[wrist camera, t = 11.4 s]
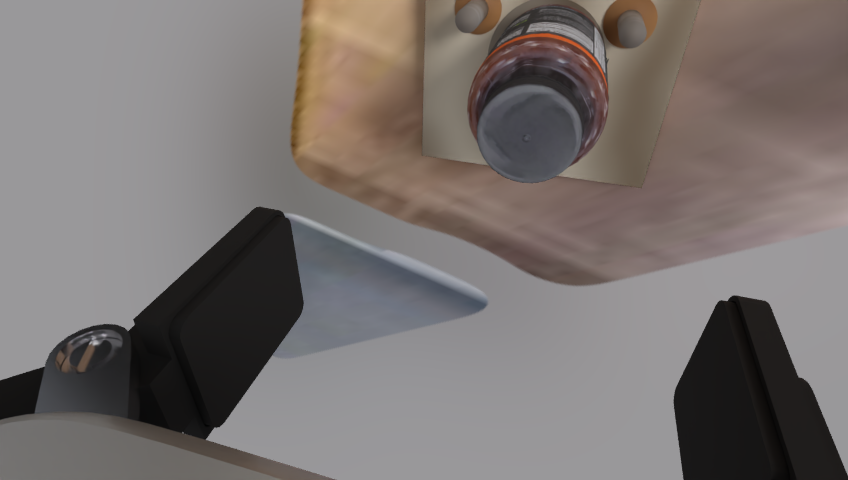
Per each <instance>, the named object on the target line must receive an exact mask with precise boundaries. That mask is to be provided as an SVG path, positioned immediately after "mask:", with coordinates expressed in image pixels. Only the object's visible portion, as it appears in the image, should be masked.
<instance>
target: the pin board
mask: <svg viewBox="0 0 848 480" xmlns="http://www.w3.org/2000/svg"><path fill="white" fill-rule="evenodd" d="M700 2H701V0H426V1H425V44H424V88H423V131H422V156H429V157H435V158H442V159H449V160H456V161H462V162H469V163H476V164H482V165H488V164H487V162H486V161H485V159H484V158H483V156H482V154H481V152H480V150H479V147H478V144H477V142H476V140H475V138H474V136H473V134H472V132H471V129H470V126H469V121H468V114H467V104H468V96H469V91H470V88H471V85H472V82H473V79H474V77H475V75H476V73H477V71H478V70H479V68H480V67H481V65H482V63H483V62H484V60H485V59H486V57H487V56H488V54H489V53H490V51H491V50H492V48H493V47H494V45H495V44H496V42H497V41H498V39H499V38H500V36H501V35H502V33H503V32H504V30H505V29H506V28H507V27H508V26H509V25H510V24H511V23H512V22H513V21H514V20H515V19H516V18H517V17H518V16H520V15H521V14H523V13H524V12H526V11H528V10H530V9H532V8H535V7H538V6H541V5H549V4H559V5H566V6H570V7H572V8H575V9H577V10H579V11H581V12H583V13H584V14H585V15H587V16H588V17H589V18H590V19H591V20H592V21H593V22H594V24H595V25H596V27H597V28H598V30H599V32H600V34H601V36H602V40H603V42H604V46H605V50H606V58H607V60H608V59H609V61H608V63H607V74H608V95H609V102H608V116H607V120H606V124H605V127H604V130H603V132H602V134H601V136H600V138H599V139H598V141H597V142H596V144H595V145H594V146H593V148H592V149H591V150H590V151H589V152H588V154H587V155H586V156H584V157H583V158H582V159H580V160H579V161H578V162H577V163H575V164H573V165H572V166H570V167H568V168H567V169H566V170H564V171H563V172H562V173H560V174H559V175H557V176H563V177H570V178H576V179H583V180H590V181H596V182H603V183H610V184H617V185H623V186H630V187H637V188H642V185H643V182H644V179H645V176H646V173H647V169H648V166H649V163H650V160H651V157H652V154H653V150H654V147H655V144H656V141H657V138H658V135H659V131H660V128H661V125H662V122H663V119H664V116H665V112H666V109H667V106H668V103H669V100H670V97H671V93H672V90H673V87H674V84H675V81H676V78H677V74H678V71H679V68H680V65H681V62H682V59H683V55H684V52H685V49H686V46H687V43H688V40H689V37H690V33H691V30H692V27H693V24H694V21H695V18H696V14H697V11H698V8H699V5H700Z"/></svg>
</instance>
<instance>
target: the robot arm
mask: <svg viewBox="0 0 848 480" xmlns="http://www.w3.org/2000/svg"><path fill="white" fill-rule="evenodd" d="M303 304H304V303H303V296H302V290H301V283H300V277H299V271H298V265H297V259H296V253H295V247H294V241H293V235H292V229H291V223H290V221H289V219H288V218H285V216H284V214H283V212H281V211H279V210H274V209H268V208H263V207H256V208H255V209H253V210H252V211H251V212H250V213H249V214H248V215H247V216H246V217H245V218H243V219H242V220H241V221H240V222H239V223H238V224H237V225H236V226H235V227H234V228H232V229H231V230H230V231H229V232H228V233H227V234H226V235H225V236H224V237H223V238H222V239H221V240H219V241H218V242H217V243H216V244H215V245H214V246H213V247H212V248H211V249H210V250H208V251H207V252H206V253H205V254H204V255H203V256H202V257H201V258H200V259H199V260H198V261H197V262H195V263H194V264H193V265H192V266H191V267H190V268H189V269H188V270H187V271H186V272H184V273H183V274H182V275H181V276H180V277H179V278H178V279H177V280H176V281H175V282H174V283H172V284H171V285H170V286H169V287H168V288H167V289H166V290H165V291H164V292H163V293H162V294H160V295H159V296H158V297H157V298H156V299H155V300H154V301H153V302H152V303H151V304H150V305H149V306H147V307H146V308H145V309H144V310H143V311H142V312H141V313H140V314H139V315H138V316H137V317H135V318H134V319H133V320H134V323H135V325H134V326H133V327H132V328H131V329H130V330H129V331H127V330H126V329H125V328H124V327H121V326H118V325H113V324H103V325H96V326H91V327H88V328H85V329H82V330H80V331H78V332H76V333H74V334H72V335H70V336H68V337H67V338H66V339H64V340H63V341H61V342H60V343H59V344H58V345H57V346H56V347H55V348H54V349H53V350H52V352H51V353H50V354H49V356H48V359H47V361H46V364H45V367H42V368H39V369H36V370H32V371H29V372H26V373H23V374H19V375H16V376H13V377H10V378H7V379H3V380H0V480H335V479H331V478H328V477H325V476H322V475H319V474H316V473H312V472H309V471H306V470H302V469H299V468H296V467H293V466H289V465H286V464H283V463H280V462H276V461H273V460H269V459H266V458H263V457H260V456H257V455H253V454H250V453H247V452H243V451H240V450H237V449H234V448H230V447H227V446H224V445H220V444H217V443H214V442H210V441H207V440H206V438H207V437H208V436H209V434H210V433H211V431H212V430H213V429H214V427H216V428H217V427H220V426H221V425H222V424H223V423H224V422H225V421H226V419H227V418H228V417H229V415H230V414H231V412H232V411H233V410H234V408H235V407H236V405H237V404H238V403H239V401H240V400H241V398H242V397H243V395H244V394H245V393H246V391H247V390H248V388H249V387H250V386H251V384H252V383H253V381H254V380H255V379H256V377H257V376H258V374H259V373H260V372H261V370H262V369H263V367H264V366H265V365H266V363H267V362H268V360H269V359H270V357H271V356H272V355H273V353H274V352H275V351H276V349H277V348H278V346H279V345H280V343H281V342H282V341H283V339H284V338H285V336H286V335H287V334H288V332H289V331H290V329H291V328H292V327H293V325H294V324H295V322H296V321H297V320H298V318H299V317H300V315H301V313H302V310H303ZM674 409H675V418H676V425H677V432H678V440H679V447H680V456H681V463H682V471H683V479H684V480H848V475H847V473H846V471H845V468H844V466H843V463H842V461H841V458H840V456H839V454H838V451H837V449H836V446H835V444H834V441H833V439H832V436H831V434H830V432H829V429H828V427H827V424H826V422H825V419H824V417H823V415H822V412H821V410H820V408H819V405H818V402H817V400H816V397H815V395H814V393H813V390H812V388H811V387H810V385H809V384H808V382H806V381H805V380H804V379H802V378H798V375H797V373H796V370H795V368H794V365H793V363H792V360H791V358H790V355H789V352H788V350H787V347H786V345H785V342H784V340H783V337H782V335H781V332H780V329H779V327H778V324H777V322H776V319H775V317H774V314H773V312H772V309H771V307H770V305H769V303H767V302H766V301H762V300H757V299H751V298H746V297H740V296H732V297H730V298H729V300H728V301H722V300H721V301H719V302H718V303H717V305H716V306H715V309H714V311H713V313H712V315H711V317H710V319H709V321H708V323H707V325H706V327H705V329H704V331H703V333H702V335H701V337H700V339H699V341H698V344H697V346H696V348H695V350H694V352H693V354H692V356H691V358H690V360H689V362H688V364H687V366H686V368H685V370H684V372H683V375H682V376H681V378H680V380H679V383H678V385H677V387H676V390H675V394H674ZM182 432H184V434H183V433H182ZM186 434H187V435H186Z"/></svg>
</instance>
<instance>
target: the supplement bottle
mask: <svg viewBox="0 0 848 480" xmlns="http://www.w3.org/2000/svg"><path fill="white" fill-rule="evenodd" d="M608 61H609V59H608V60H607V58H606V50H605V46H604V42H603V40H602V36H601V34H600V32H599V30H598V28H597V27H596V25H595V24H594V22H593V21H592V20H591V19H590V18H589V17H588V16H587V15H585V14H584V13H583V12H581V11H579V10H577V9H575V8H572V7H570V6H566V5H559V4H549V5H541V6H538V7H535V8H532V9H530V10H528V11H526V12H524V13H523V14H521V15H520V16H518V17H517V18H516V19H515V20H514V21H513V22H512V23H511V24H510V25H509V26H508V27H507V28H506V29H505V30H504V32H503V33H502V35H501V36H500V38H499V39H498V41H497V42H496V44H495V45H494V47H493V48H492V50H491V51H490V53H489V54H488V56H487V57H486V59H485V60H484V62H483V63H482V65H481V67H480V68H479V70H478V71H477V73H476V75H475V77H474V79H473V82H472V85H471V88H470V91H469V96H468V104H467V114H468V121H469V126H470V129H471V132H472V134H473V136H474V138H475V140H476V142H477V144H478V147H479V150H480V152H481V154H482V156H483V158H484V159H485V161H486V162H487V164H488V165H489V166H490V167H491V168H492V169H493V170H495V171H496V172H497V173H498V174H500V175H502V176H504V177H505V178H508V179H510V180H513V181H517V182H522V183H537V182H542V181H546V180H549V179H551V178H553V177H556V176H557V175H559V174H560V173H562V172H563V171H564V170H566V169H567V168H568V167H570V166H572V165H573V164H575V163H577V162H578V161H579V160H580V159H582V158H583V157H584V156H586V155H587V154H588V152H589V151H590V150H591V149H592V148H593V146H594V145H595V144H596V142H597V141H598V139H599V138H600V136H601V134H602V132H603V130H604V127H605V124H606V120H607V116H608V102H609V95H608V74H607V63H608Z"/></svg>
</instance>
